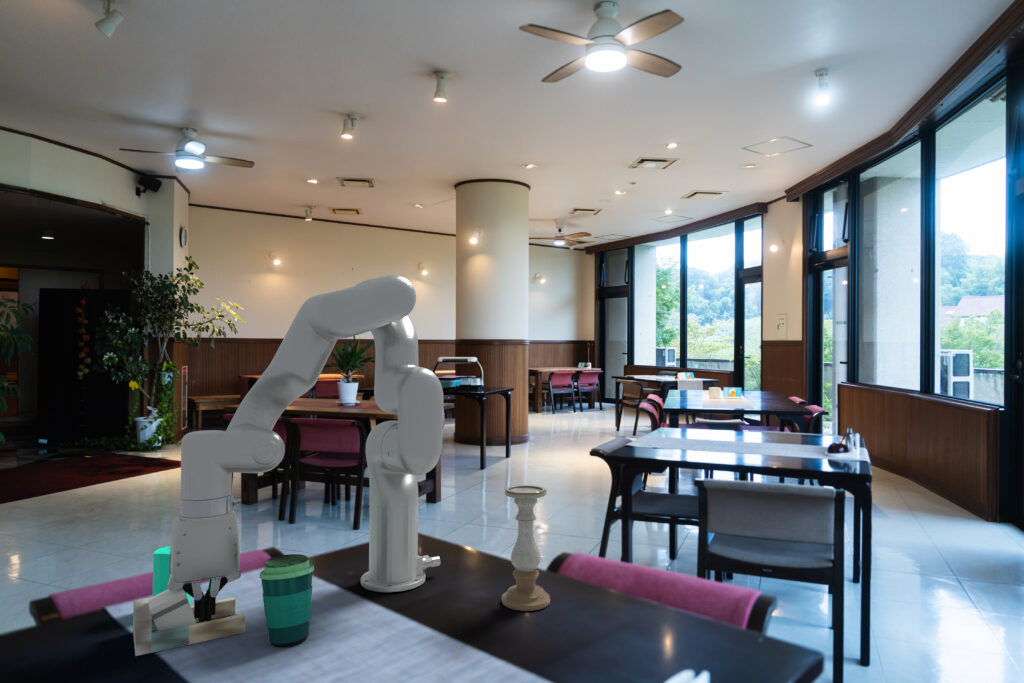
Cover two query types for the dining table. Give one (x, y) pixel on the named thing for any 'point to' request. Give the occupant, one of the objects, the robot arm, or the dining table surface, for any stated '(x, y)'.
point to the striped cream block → (171, 610)
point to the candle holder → (525, 553)
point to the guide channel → (183, 628)
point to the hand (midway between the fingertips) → (204, 620)
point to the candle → (162, 571)
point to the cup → (287, 598)
